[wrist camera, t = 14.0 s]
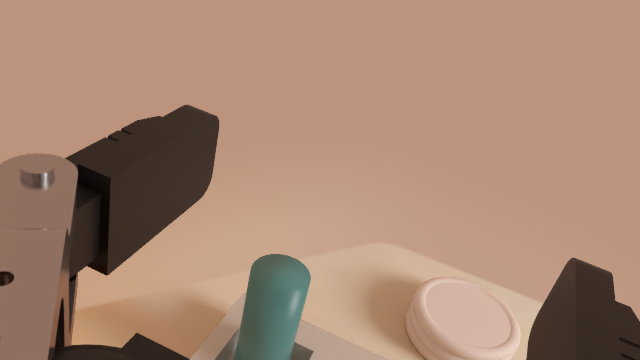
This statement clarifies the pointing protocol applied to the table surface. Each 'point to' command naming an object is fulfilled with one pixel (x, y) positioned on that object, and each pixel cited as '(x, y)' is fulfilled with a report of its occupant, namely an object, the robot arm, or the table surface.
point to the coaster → (461, 322)
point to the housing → (308, 351)
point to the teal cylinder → (272, 308)
